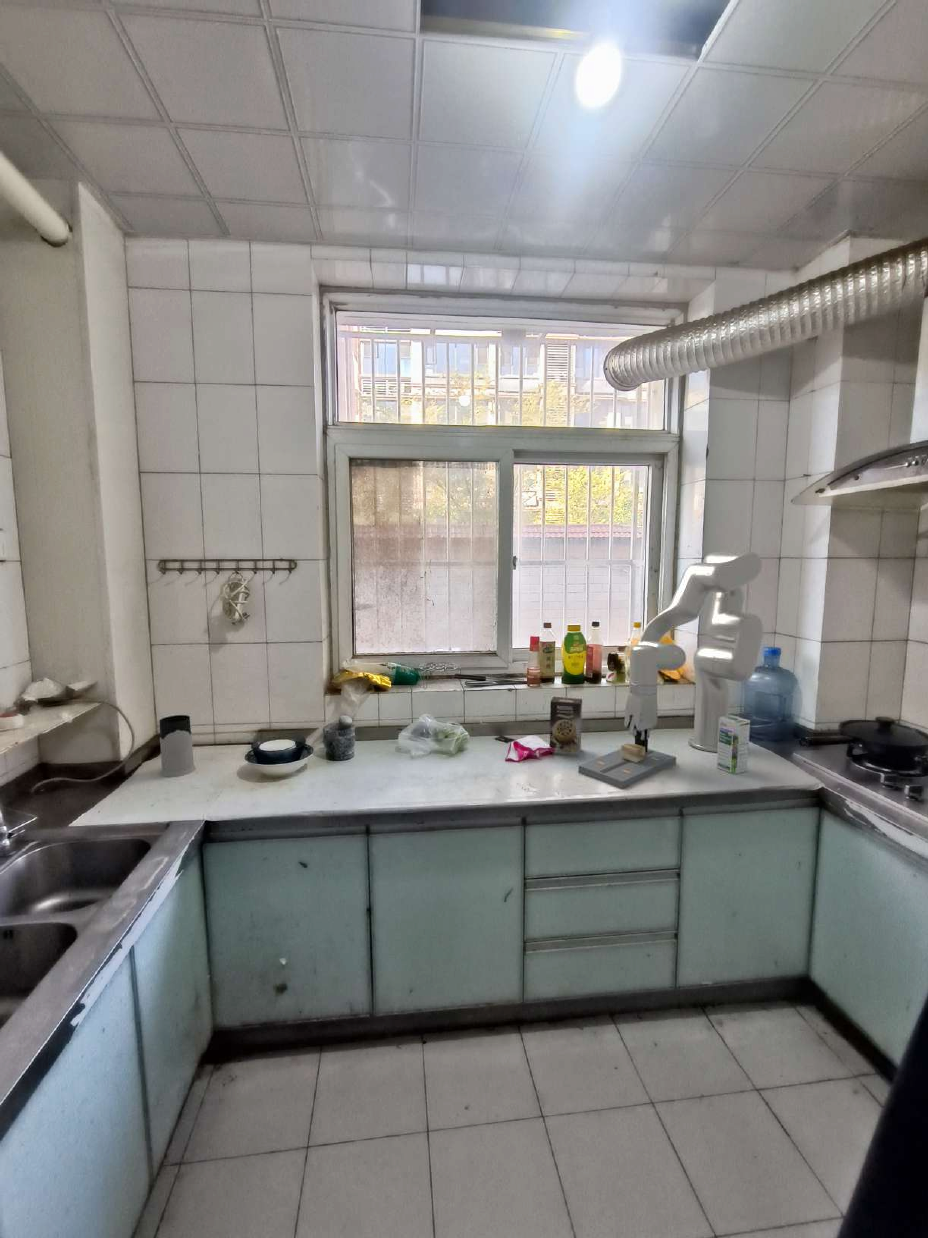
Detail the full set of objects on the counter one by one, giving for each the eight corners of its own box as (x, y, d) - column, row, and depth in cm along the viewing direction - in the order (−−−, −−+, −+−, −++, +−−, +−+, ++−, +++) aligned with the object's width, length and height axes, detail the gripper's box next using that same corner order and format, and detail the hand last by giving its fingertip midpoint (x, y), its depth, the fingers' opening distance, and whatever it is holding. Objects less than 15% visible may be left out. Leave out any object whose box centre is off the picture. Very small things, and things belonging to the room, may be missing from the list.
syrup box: (715, 767, 150) (717, 717, 148) (729, 764, 153) (732, 714, 151) (734, 775, 145) (736, 722, 143) (748, 771, 148) (751, 719, 146)
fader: (629, 754, 155) (629, 742, 154) (644, 759, 151) (645, 747, 150) (621, 757, 152) (621, 745, 152) (636, 762, 148) (636, 750, 148)
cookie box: (548, 753, 162) (549, 701, 160) (551, 746, 168) (552, 695, 166) (579, 756, 159) (580, 703, 158) (581, 749, 165) (582, 697, 164)
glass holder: (162, 779, 145) (158, 725, 143) (155, 763, 156) (152, 713, 154) (198, 772, 150) (195, 719, 148) (189, 757, 161) (186, 708, 160)
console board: (632, 750, 164) (633, 743, 164) (676, 763, 153) (676, 756, 153) (578, 772, 147) (578, 765, 147) (622, 789, 137) (622, 781, 136)
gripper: (646, 682, 159) (644, 742, 161) (616, 690, 150) (614, 754, 152) (669, 687, 154) (667, 749, 156) (639, 695, 144) (637, 761, 146)
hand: (640, 751), depth 154 cm, fingers closed
